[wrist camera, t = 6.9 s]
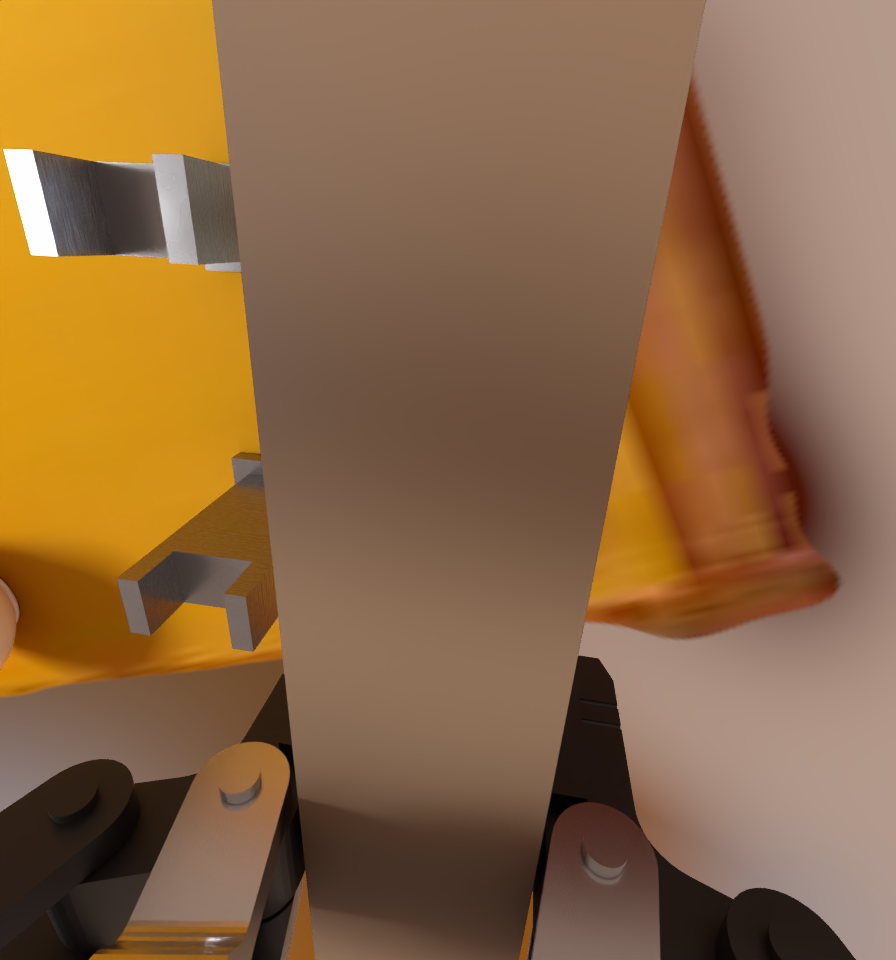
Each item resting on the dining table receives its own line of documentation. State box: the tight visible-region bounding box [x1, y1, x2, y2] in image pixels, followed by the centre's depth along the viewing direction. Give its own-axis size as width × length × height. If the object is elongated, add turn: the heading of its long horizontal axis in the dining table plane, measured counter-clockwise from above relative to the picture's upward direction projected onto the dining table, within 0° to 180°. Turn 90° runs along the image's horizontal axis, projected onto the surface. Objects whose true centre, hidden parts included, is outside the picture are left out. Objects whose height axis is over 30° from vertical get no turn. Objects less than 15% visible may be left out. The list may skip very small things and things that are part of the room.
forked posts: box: [4, 149, 278, 652], centre depth 25 cm, size 21×8×12 cm, turn 178°
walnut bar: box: [212, 0, 706, 960], centre depth 8 cm, size 22×3×3 cm, turn 178°
